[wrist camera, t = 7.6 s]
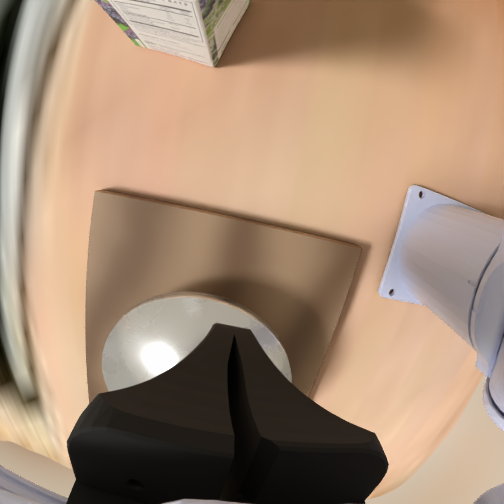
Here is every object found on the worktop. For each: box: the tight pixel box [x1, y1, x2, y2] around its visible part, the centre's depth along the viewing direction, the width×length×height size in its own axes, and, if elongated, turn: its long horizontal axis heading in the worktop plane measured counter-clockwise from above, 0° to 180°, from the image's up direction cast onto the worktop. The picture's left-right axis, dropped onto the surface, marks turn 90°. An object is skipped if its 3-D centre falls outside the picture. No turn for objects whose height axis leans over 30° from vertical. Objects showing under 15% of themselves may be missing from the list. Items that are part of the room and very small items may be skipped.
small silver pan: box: [102, 291, 292, 391], centre depth 20 cm, size 16×12×4 cm
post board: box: [86, 190, 362, 404], centre depth 20 cm, size 17×20×5 cm
